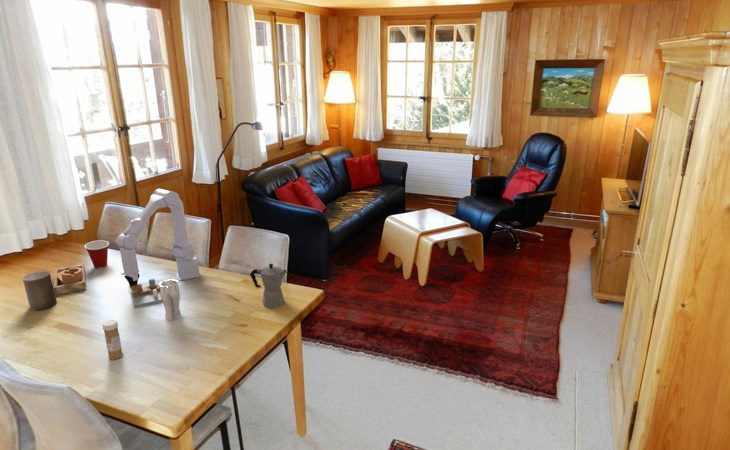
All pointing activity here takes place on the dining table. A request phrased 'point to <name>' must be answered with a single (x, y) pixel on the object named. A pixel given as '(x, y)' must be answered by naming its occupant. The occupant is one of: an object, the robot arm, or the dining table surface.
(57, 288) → the parts corral
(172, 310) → the beer glass
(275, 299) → the coffeepot
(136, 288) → the brown wooden blocky piece
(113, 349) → the sprinkles bottle
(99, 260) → the plastic cup
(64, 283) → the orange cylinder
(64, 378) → the dining table surface
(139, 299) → the base board
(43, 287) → the pillar candle
